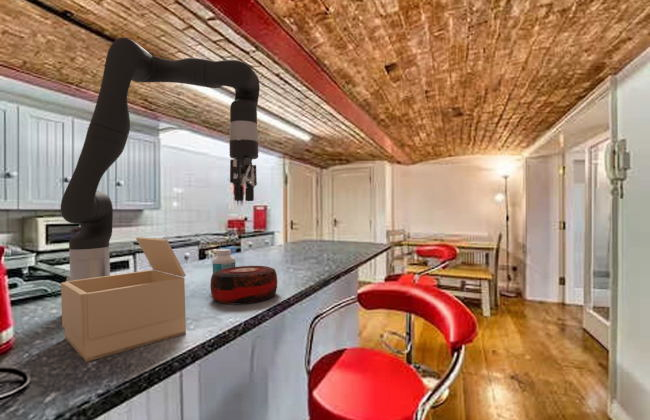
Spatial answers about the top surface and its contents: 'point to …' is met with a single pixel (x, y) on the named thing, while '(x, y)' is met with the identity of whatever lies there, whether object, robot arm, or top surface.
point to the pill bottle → (223, 260)
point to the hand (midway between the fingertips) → (244, 200)
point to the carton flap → (160, 255)
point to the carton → (122, 312)
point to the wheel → (243, 284)
